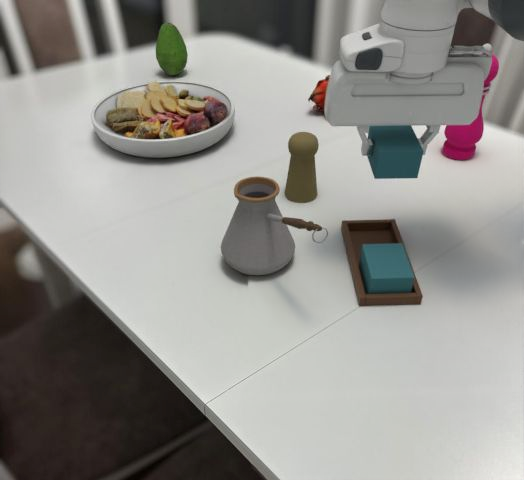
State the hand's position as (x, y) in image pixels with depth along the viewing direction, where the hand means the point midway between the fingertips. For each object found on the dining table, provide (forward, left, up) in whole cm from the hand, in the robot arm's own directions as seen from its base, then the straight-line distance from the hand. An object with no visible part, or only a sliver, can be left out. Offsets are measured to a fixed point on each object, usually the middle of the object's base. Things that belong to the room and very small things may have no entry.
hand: (392, 153), depth 75 cm
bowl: (+38, -43, -16) cm, 59 cm away
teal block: (+1, +11, -15) cm, 18 cm away
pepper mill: (-22, -30, -16) cm, 40 cm away
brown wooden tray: (+1, +6, -15) cm, 17 cm away
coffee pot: (+17, +8, -16) cm, 24 cm away
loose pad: (0, 0, -2) cm, 2 cm away
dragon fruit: (+1, -51, -16) cm, 53 cm away
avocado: (+39, -76, -16) cm, 87 cm away
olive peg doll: (+11, -16, -16) cm, 25 cm away
